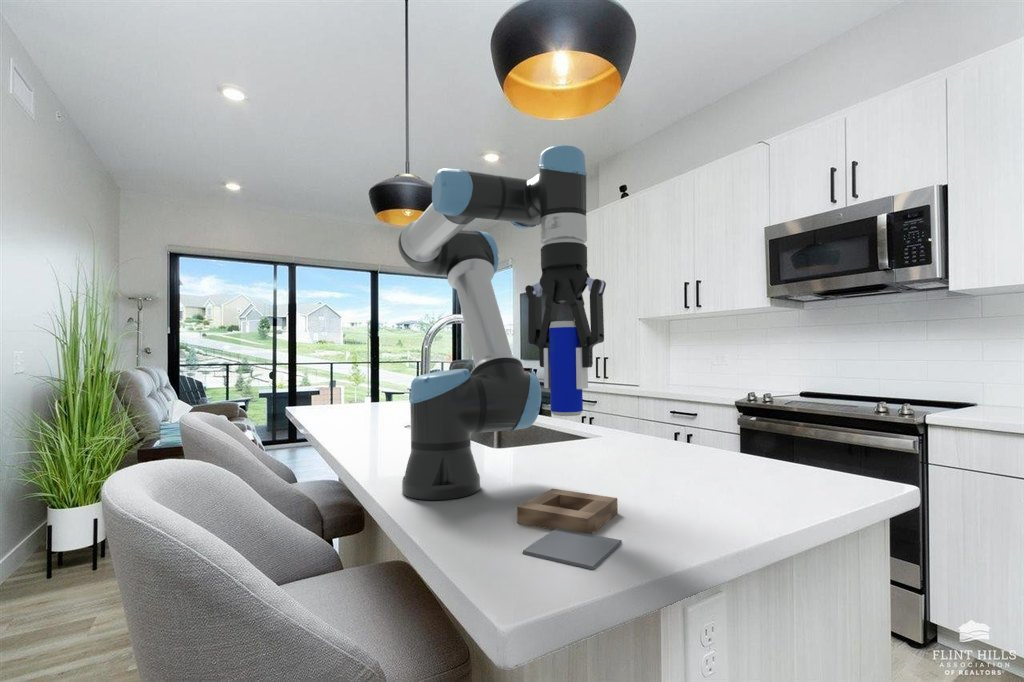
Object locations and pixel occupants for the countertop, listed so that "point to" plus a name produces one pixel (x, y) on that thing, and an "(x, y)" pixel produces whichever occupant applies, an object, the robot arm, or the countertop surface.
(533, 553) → the grey rubber mat
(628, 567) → the countertop surface
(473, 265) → the robot arm
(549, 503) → the walnut collar block
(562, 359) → the beverage can
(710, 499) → the countertop surface
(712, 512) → the countertop surface
